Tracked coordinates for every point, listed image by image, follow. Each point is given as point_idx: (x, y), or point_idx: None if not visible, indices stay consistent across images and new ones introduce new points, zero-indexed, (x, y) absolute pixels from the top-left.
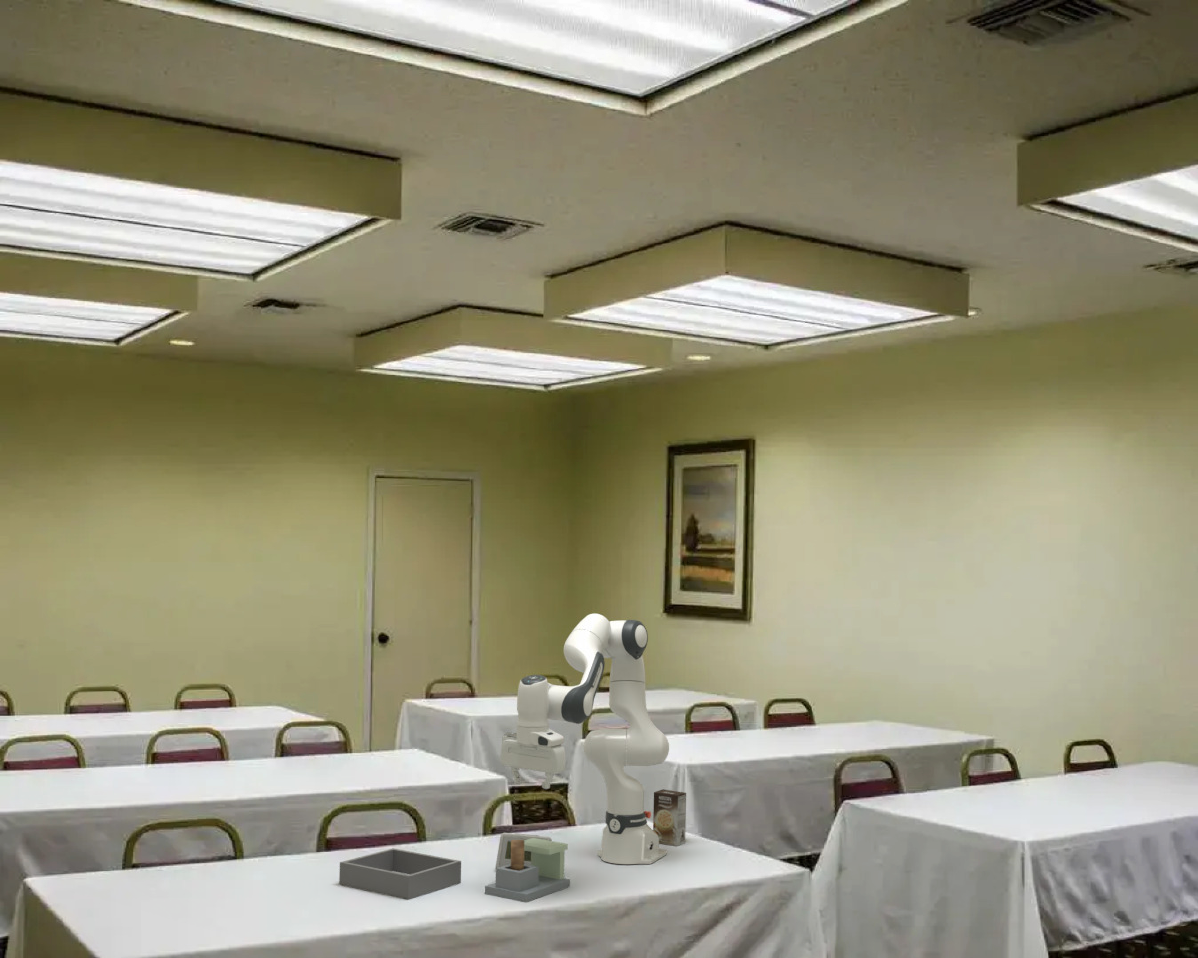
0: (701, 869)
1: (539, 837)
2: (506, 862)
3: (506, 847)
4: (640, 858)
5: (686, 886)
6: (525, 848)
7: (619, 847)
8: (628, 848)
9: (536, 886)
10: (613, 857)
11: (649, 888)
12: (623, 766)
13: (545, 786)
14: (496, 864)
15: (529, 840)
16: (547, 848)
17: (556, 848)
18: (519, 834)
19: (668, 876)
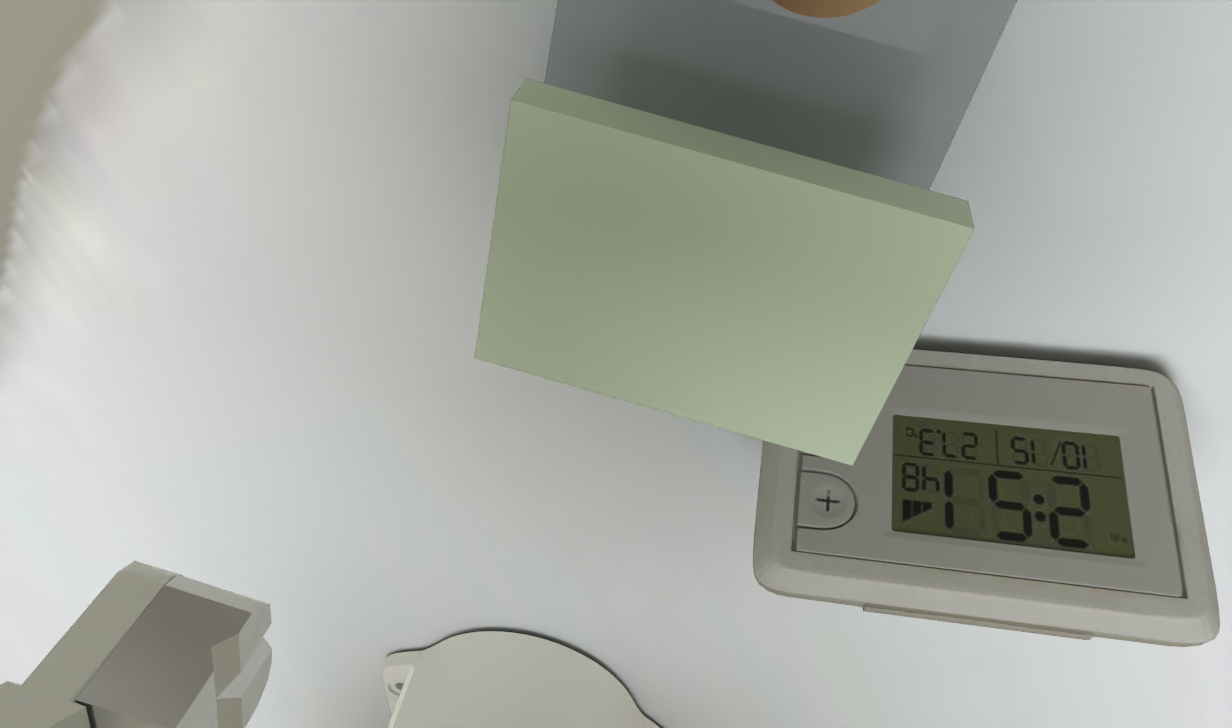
0: None
1: (848, 576)
2: (1096, 408)
3: (1130, 511)
4: (416, 671)
5: (25, 377)
6: (826, 171)
7: (490, 709)
8: (448, 706)
9: None
10: (531, 663)
11: (132, 291)
12: None
13: (123, 600)
14: (1178, 403)
15: (853, 377)
16: (551, 131)
17: (498, 201)
18: (1041, 617)
19: (204, 507)
